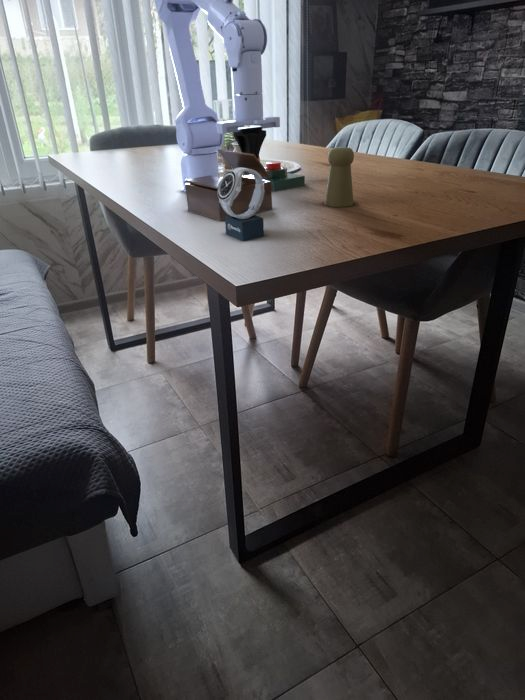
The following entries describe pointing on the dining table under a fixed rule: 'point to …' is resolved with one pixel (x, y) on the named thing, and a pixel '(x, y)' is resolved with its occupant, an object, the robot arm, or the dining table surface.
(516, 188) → the dining table surface
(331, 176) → the olive green tall piece
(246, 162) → the flap
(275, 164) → the button
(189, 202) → the carton
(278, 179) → the button box
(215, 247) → the dining table surface
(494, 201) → the dining table surface
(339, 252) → the dining table surface
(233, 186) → the watch
